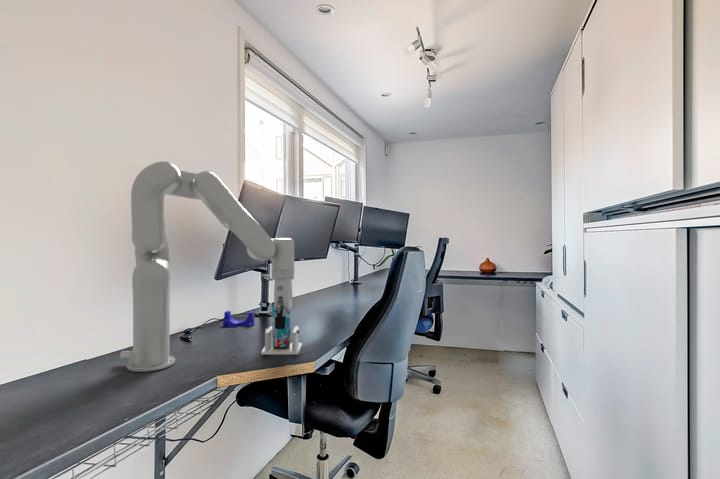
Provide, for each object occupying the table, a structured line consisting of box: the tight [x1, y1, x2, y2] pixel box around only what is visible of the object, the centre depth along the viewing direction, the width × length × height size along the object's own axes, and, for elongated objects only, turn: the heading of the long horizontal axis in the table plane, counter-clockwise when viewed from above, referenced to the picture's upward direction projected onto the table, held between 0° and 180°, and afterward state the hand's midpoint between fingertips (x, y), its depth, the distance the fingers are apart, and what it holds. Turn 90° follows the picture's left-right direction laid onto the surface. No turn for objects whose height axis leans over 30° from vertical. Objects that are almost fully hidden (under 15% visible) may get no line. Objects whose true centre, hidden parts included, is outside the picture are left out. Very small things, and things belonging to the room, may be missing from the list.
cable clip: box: [222, 310, 255, 328], centre depth 168 cm, size 12×4×6 cm, turn 88°
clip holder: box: [260, 325, 303, 356], centre depth 132 cm, size 12×10×7 cm
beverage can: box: [271, 301, 292, 349], centre depth 132 cm, size 6×6×15 cm
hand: (282, 325), depth 132 cm, fingers open, 9 cm apart
